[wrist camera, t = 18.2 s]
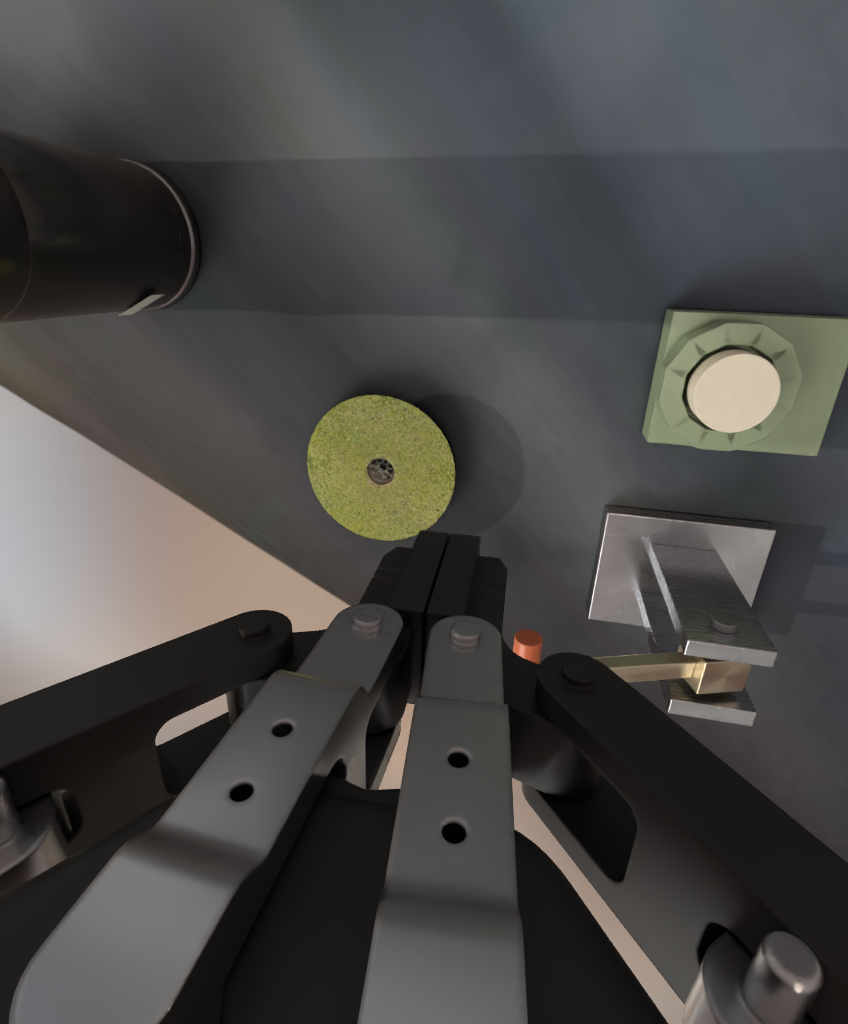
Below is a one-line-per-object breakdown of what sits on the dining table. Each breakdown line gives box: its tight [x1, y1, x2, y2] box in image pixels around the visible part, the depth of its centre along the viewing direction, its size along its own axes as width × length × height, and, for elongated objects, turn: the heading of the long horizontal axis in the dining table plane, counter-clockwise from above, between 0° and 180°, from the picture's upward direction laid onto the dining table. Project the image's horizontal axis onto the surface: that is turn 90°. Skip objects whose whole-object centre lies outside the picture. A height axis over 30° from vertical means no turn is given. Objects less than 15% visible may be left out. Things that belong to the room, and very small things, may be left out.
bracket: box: [587, 506, 778, 726], centre depth 35 cm, size 11×9×13 cm
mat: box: [307, 395, 455, 540], centre depth 42 cm, size 11×11×2 cm
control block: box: [642, 309, 848, 456], centre depth 34 cm, size 10×8×4 cm
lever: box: [513, 630, 751, 694], centre depth 31 cm, size 13×5×2 cm, turn 88°
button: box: [687, 349, 781, 433], centre depth 32 cm, size 4×4×2 cm
